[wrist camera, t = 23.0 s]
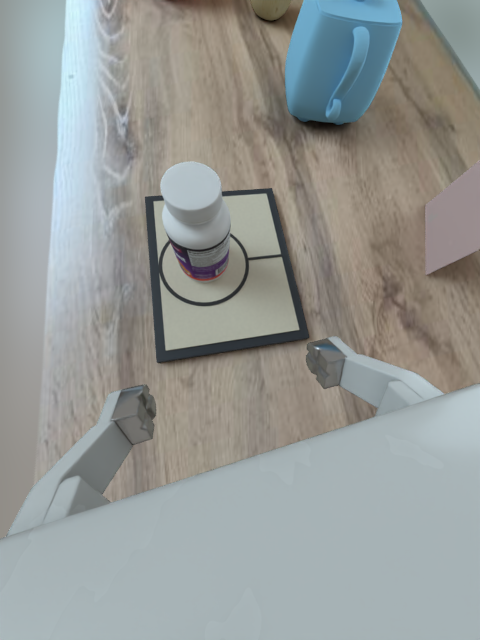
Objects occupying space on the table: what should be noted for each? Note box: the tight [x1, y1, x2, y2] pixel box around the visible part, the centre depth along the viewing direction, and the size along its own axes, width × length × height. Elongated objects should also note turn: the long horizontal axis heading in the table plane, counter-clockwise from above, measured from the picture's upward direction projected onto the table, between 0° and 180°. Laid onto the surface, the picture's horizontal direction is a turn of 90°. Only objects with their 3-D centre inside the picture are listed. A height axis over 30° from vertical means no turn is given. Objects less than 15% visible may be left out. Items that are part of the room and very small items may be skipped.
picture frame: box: [145, 188, 309, 363], centre depth 23 cm, size 16×20×1 cm
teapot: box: [285, 0, 402, 125], centre depth 27 cm, size 12×18×12 cm
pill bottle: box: [161, 162, 231, 283], centre depth 18 cm, size 5×5×10 cm
